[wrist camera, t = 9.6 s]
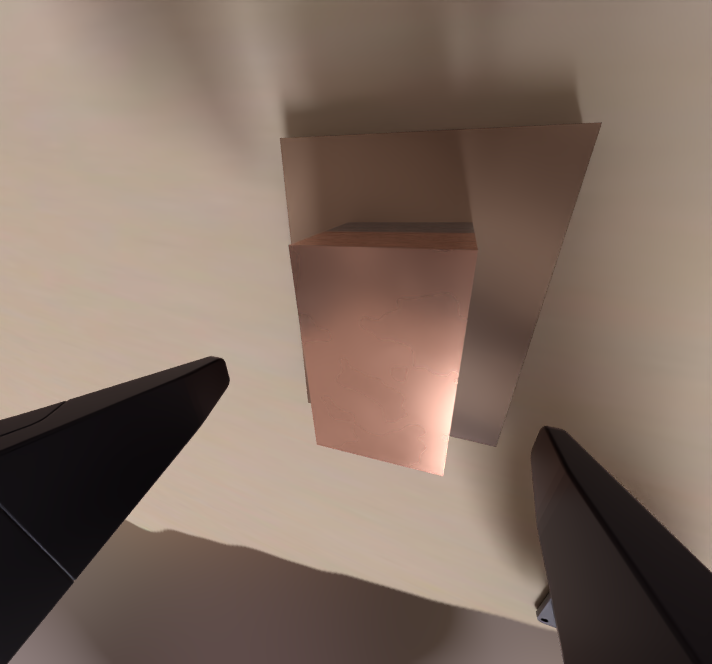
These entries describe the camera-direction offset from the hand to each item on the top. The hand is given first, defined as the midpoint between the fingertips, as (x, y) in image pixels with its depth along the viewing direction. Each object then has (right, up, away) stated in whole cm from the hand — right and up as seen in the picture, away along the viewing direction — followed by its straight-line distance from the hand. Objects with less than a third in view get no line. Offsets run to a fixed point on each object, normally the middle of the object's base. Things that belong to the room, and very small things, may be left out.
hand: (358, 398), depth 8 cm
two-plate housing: (+2, +3, +5) cm, 6 cm away
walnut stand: (+3, +3, +7) cm, 8 cm away
